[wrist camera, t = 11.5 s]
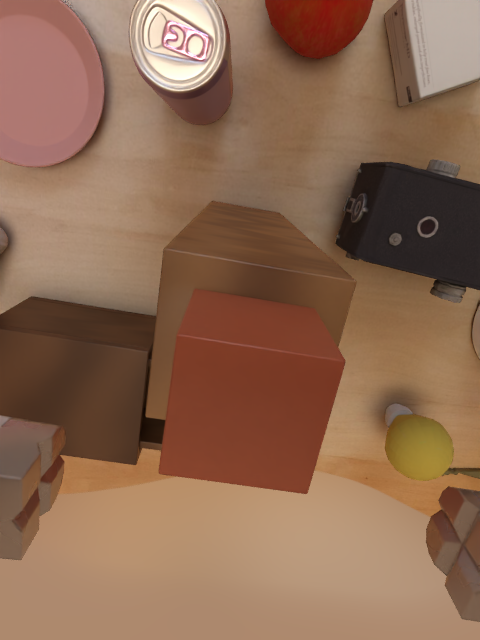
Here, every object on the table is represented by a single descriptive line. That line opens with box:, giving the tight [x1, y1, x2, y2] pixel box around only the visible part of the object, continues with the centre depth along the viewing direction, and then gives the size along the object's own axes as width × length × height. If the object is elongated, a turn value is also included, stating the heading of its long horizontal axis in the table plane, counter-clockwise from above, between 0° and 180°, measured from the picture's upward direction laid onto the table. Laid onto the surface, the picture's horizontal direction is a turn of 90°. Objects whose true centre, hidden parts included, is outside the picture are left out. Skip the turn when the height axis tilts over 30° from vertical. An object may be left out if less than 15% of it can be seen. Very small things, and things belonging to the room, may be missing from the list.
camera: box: [336, 160, 480, 303], centre depth 36 cm, size 11×11×15 cm
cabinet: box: [0, 297, 156, 465], centre depth 42 cm, size 15×13×9 cm
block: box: [159, 289, 345, 494], centre depth 13 cm, size 4×4×4 cm
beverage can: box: [129, 0, 233, 125], centre depth 30 cm, size 6×6×15 cm
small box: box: [384, 0, 480, 107], centre depth 34 cm, size 8×8×5 cm
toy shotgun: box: [441, 468, 480, 479], centre depth 52 cm, size 12×2×1 cm, turn 81°
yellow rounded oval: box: [385, 404, 454, 481], centre depth 44 cm, size 7×7×10 cm
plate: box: [0, 0, 105, 167], centre depth 36 cm, size 14×14×2 cm
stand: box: [145, 201, 356, 420], centre depth 29 cm, size 7×7×28 cm
